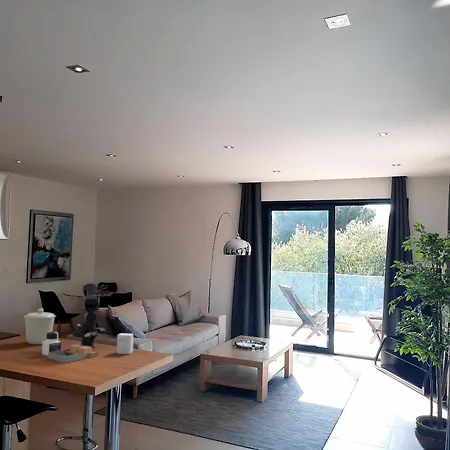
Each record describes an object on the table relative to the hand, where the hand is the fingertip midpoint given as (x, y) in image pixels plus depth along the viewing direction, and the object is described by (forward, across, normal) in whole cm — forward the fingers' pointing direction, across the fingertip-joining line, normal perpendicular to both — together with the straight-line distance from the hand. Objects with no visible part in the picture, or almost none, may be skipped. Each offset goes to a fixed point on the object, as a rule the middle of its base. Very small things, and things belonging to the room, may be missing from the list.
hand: (88, 347), depth 248 cm
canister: (+3, +5, -42) cm, 43 cm away
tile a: (0, +8, 0) cm, 8 cm away
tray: (+2, +18, +4) cm, 18 cm away
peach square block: (0, +8, +7) cm, 11 cm away
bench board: (+2, +7, +4) cm, 9 cm away
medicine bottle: (+3, +17, -10) cm, 20 cm away
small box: (+3, -13, +16) cm, 21 cm away
